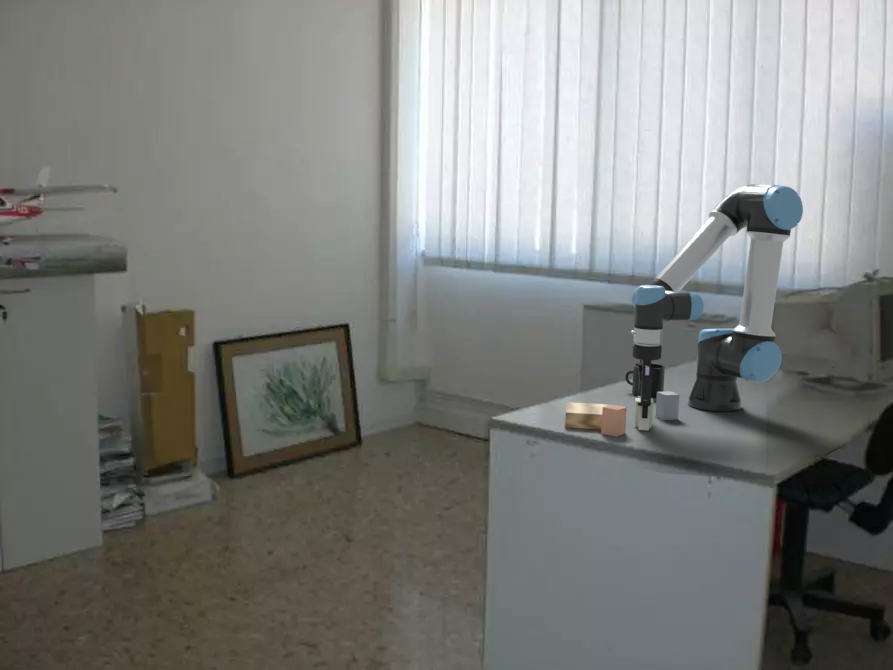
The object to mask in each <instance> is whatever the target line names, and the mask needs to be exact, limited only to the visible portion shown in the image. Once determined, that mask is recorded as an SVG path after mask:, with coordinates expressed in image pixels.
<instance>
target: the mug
mask: <svg viewBox="0 0 893 670" xmlns="http://www.w3.org/2000/svg"><path fill="white" fill-rule="evenodd" d="M638 364H640V362H639V363H634V364H633V367H632V370H628V371H627V372H626V374H625V377H624V378H625V381H626V383H627V384H628V385H629V386H632V388H631V393H632V395H634V396H636V397H638V396H640V395H638V387H639V377H638V373H639V371H638ZM651 365H653V367H654V372H653V380H652V383H651V399H654V398H656V399H657V392H665V391H664V387H665V373H666V371H665V369H666V366H664V365H663V364H659V363H652V362H651ZM630 374H631V375H632V381H630V380H629V375H630Z"/></svg>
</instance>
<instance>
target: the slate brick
mask: <svg viewBox="0 0 893 670" xmlns="http://www.w3.org/2000/svg"><path fill="white" fill-rule="evenodd" d="M655 401H656V404H655V417H656V418H658V419H660V420H663V421H669V420H672V421H673V420H674V421H675V420H679V412H680V411H679V407H680V394H679V393H677V392H674V391H667V390H666V391H663V392H657V397H656V400H655Z"/></svg>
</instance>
